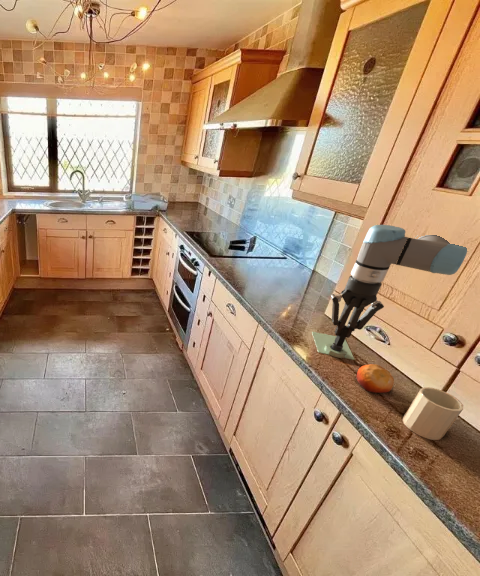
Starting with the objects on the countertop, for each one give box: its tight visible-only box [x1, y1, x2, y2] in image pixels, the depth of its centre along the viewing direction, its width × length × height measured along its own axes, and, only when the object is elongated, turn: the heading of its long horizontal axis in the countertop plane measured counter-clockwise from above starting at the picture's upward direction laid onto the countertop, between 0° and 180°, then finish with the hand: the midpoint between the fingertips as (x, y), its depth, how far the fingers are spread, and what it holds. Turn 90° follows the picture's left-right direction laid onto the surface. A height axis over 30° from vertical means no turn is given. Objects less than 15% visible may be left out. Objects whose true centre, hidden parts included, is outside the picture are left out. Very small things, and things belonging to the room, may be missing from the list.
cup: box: [402, 386, 464, 441], centre depth 75 cm, size 7×7×10 cm
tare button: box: [331, 343, 343, 352], centre depth 101 cm, size 3×3×2 cm
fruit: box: [354, 363, 395, 394], centre depth 89 cm, size 8×8×8 cm
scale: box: [311, 331, 356, 361], centre depth 105 cm, size 10×14×3 cm
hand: (338, 343), depth 100 cm, fingers closed
